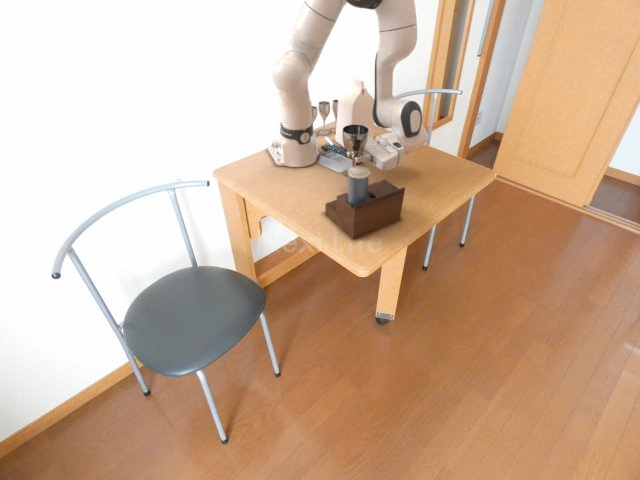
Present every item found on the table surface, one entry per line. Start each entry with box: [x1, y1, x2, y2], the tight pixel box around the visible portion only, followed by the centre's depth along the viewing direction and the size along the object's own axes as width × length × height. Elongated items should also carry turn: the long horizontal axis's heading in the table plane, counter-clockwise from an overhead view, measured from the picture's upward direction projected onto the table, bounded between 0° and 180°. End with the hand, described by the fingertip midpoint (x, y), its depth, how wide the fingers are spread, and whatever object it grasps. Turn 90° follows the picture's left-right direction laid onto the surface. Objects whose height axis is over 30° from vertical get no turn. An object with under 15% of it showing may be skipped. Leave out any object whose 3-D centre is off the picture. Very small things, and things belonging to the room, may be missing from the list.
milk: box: [334, 76, 375, 149], centre depth 149 cm, size 12×12×26 cm
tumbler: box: [346, 165, 371, 205], centre depth 103 cm, size 6×6×9 cm
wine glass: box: [342, 125, 369, 178], centre depth 118 cm, size 8×8×15 cm
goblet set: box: [311, 99, 339, 137], centre depth 163 cm, size 28×6×13 cm, turn 112°
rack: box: [324, 178, 406, 240], centre depth 113 cm, size 15×18×12 cm
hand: (352, 157), depth 119 cm, fingers closed on wine glass, 3 cm apart
